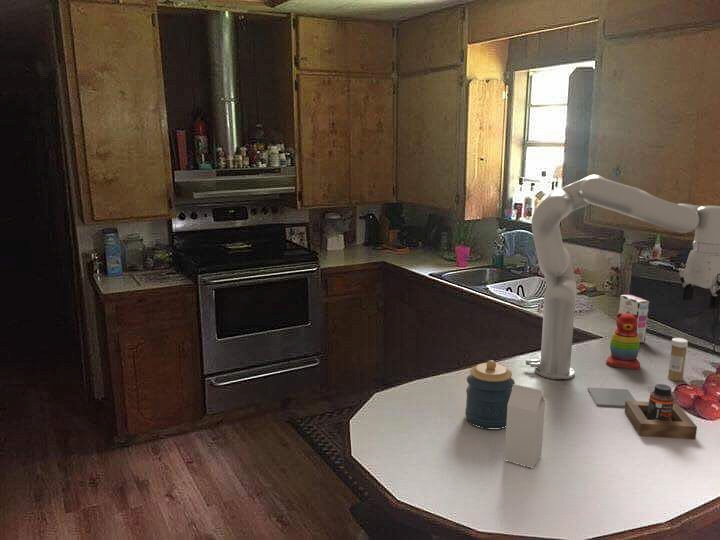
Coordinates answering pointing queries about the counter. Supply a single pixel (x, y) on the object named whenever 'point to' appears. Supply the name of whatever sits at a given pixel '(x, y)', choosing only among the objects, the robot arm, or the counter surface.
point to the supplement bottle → (660, 403)
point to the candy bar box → (636, 312)
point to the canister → (488, 395)
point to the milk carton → (524, 425)
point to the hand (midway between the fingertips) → (700, 304)
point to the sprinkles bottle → (677, 359)
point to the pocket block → (660, 422)
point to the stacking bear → (625, 343)
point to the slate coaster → (610, 396)
